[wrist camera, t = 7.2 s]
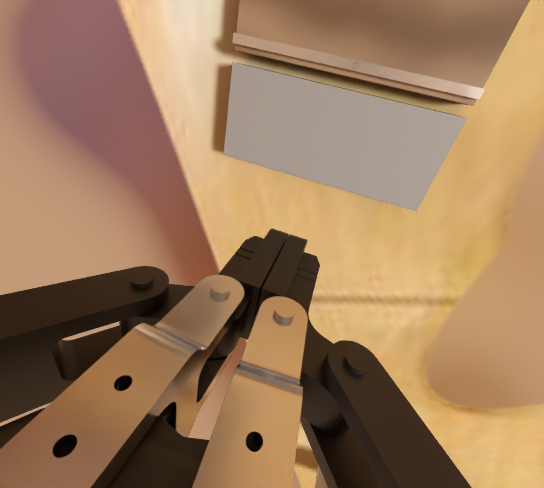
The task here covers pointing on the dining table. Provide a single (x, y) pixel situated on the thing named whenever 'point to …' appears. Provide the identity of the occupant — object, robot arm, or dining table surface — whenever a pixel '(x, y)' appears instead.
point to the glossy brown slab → (385, 40)
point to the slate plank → (337, 135)
